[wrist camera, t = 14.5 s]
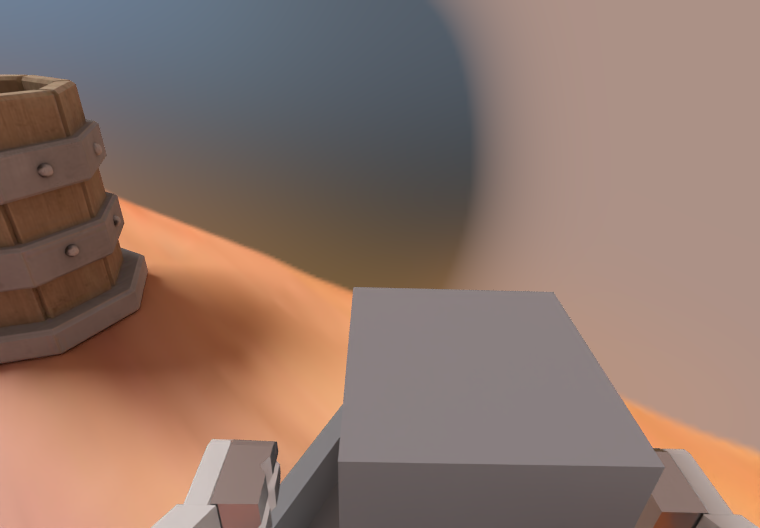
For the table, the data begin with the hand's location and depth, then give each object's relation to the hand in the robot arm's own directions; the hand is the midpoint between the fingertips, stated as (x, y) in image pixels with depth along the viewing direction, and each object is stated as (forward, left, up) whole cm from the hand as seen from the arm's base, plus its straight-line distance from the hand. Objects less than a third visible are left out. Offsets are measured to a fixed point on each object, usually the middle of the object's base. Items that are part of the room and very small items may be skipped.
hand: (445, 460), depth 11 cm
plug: (-1, 0, -8) cm, 8 cm away
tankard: (+5, +34, -9) cm, 35 cm away
